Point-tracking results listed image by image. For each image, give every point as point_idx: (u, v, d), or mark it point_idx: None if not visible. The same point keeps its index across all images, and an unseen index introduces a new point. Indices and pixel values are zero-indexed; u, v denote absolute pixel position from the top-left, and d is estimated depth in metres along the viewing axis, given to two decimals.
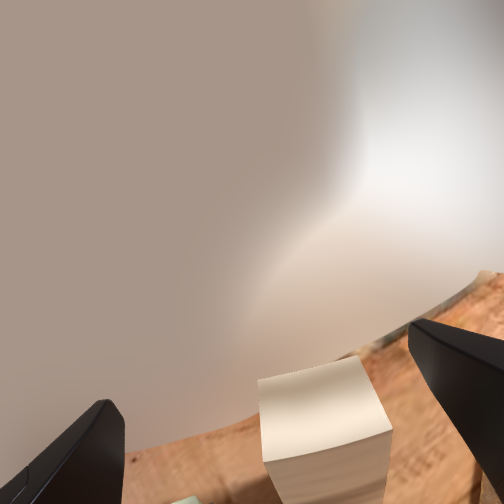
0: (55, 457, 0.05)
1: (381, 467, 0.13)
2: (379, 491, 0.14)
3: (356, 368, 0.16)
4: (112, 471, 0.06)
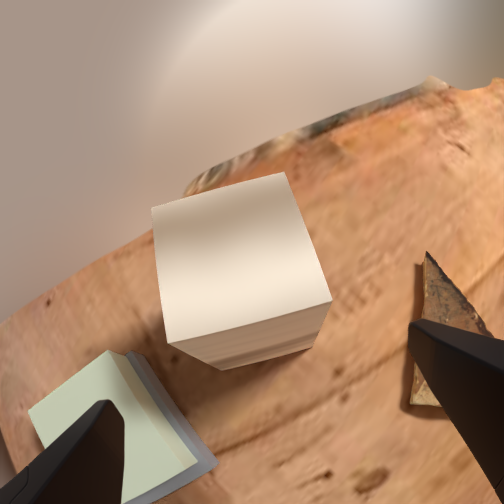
0: (55, 457, 0.05)
1: (313, 326, 0.14)
2: (310, 339, 0.17)
3: (282, 193, 0.13)
4: (112, 471, 0.06)
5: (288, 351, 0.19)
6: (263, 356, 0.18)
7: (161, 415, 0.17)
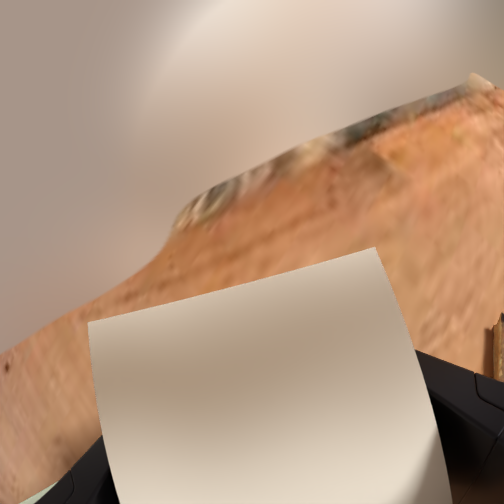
0: (102, 458, 0.05)
1: None
2: None
3: (378, 305, 0.06)
4: None
5: None
6: None
7: None
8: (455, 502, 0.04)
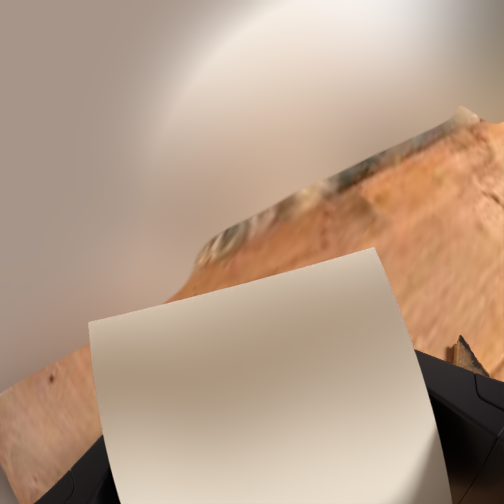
0: (102, 458, 0.05)
1: None
2: None
3: (377, 305, 0.06)
4: None
5: None
6: None
7: None
8: (455, 502, 0.04)
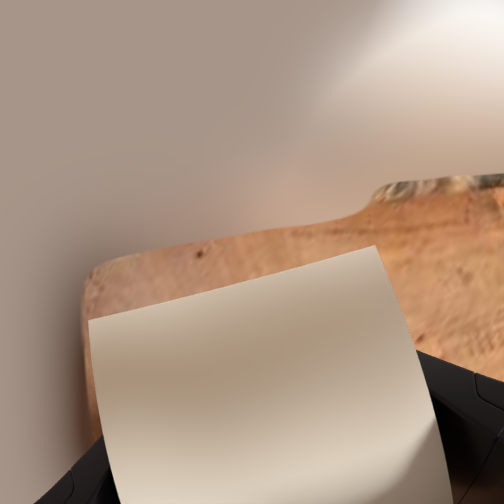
0: (102, 458, 0.05)
1: None
2: None
3: (378, 303, 0.06)
4: None
5: None
6: None
7: None
8: (456, 502, 0.04)
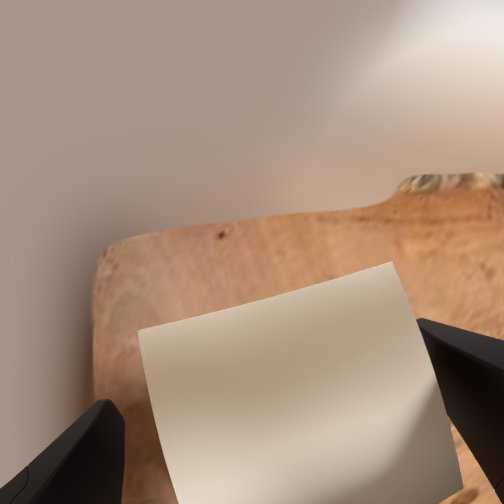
0: (55, 457, 0.05)
1: None
2: None
3: (396, 309, 0.07)
4: (112, 471, 0.06)
5: None
6: None
7: None
8: None
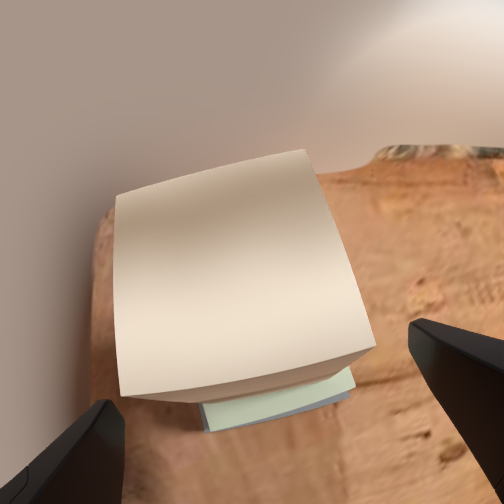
0: (55, 457, 0.05)
1: (336, 368, 0.10)
2: (327, 376, 0.13)
3: (302, 177, 0.09)
4: (112, 471, 0.06)
5: (298, 386, 0.14)
6: (266, 392, 0.14)
7: None
8: None
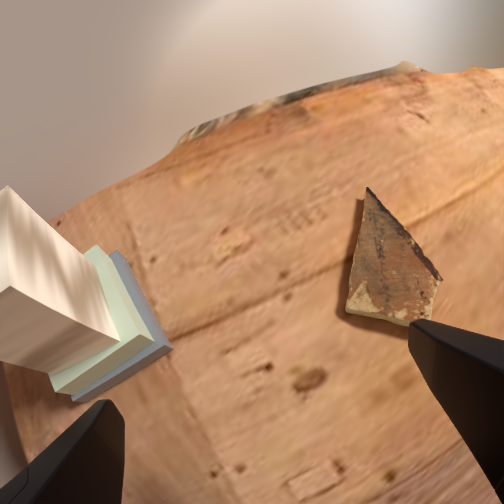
0: (55, 457, 0.05)
1: (53, 316, 0.13)
2: (90, 332, 0.16)
3: (1, 204, 0.12)
4: (112, 471, 0.06)
5: (93, 348, 0.17)
6: (69, 355, 0.17)
7: (130, 300, 0.22)
8: None
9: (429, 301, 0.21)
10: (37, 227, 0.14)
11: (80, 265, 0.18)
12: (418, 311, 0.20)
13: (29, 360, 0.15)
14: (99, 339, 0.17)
